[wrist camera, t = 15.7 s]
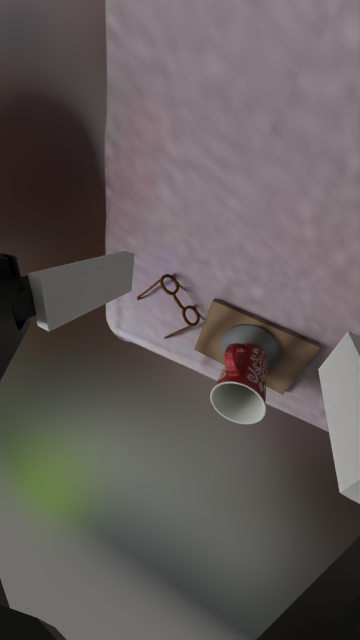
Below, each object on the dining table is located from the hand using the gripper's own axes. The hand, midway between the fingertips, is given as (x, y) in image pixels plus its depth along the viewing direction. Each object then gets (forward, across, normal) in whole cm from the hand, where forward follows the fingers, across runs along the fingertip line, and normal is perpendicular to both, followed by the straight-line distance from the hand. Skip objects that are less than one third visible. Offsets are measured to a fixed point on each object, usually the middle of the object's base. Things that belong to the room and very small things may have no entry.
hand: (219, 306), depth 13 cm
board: (+30, -5, +20) cm, 37 cm away
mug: (+28, -5, +20) cm, 35 cm away
